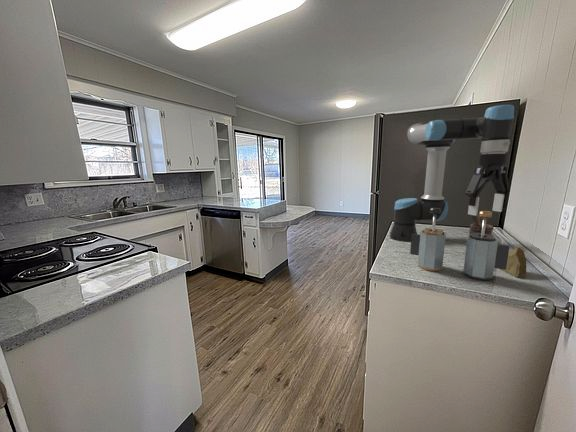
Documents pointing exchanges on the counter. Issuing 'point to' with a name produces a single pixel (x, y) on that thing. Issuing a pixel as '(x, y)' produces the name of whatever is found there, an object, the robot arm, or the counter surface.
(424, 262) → the grey faceted cylinder
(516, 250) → the rock
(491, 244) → the gray faceted mug
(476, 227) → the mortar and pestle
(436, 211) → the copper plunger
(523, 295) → the counter surface
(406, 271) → the counter surface
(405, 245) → the counter surface
